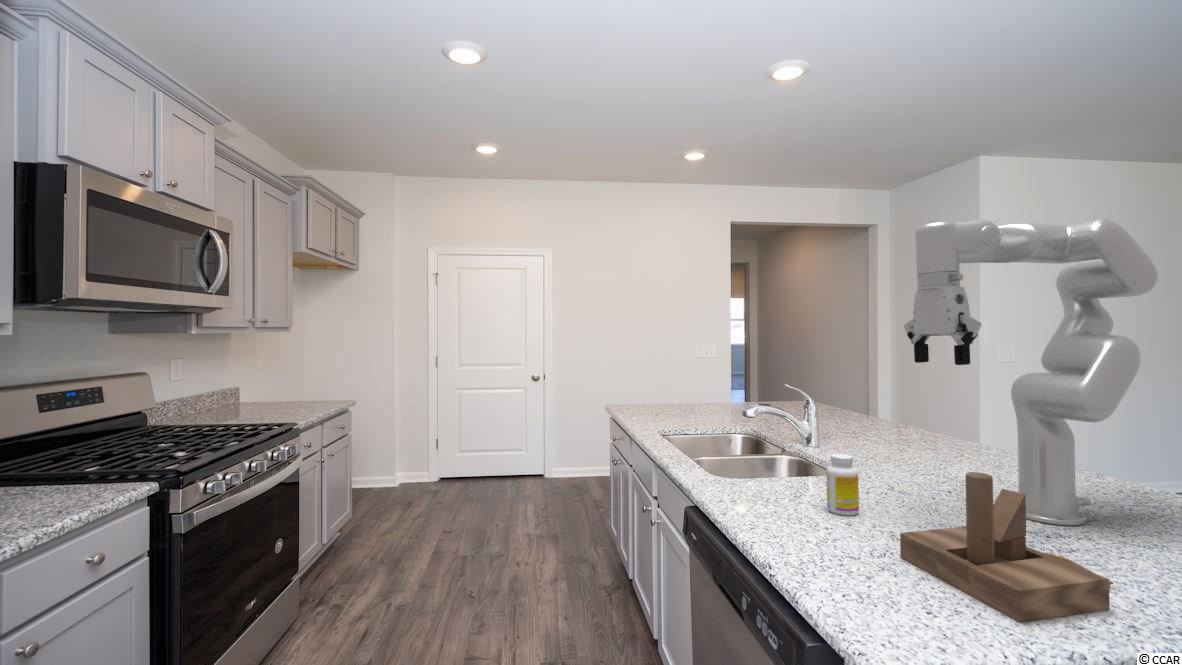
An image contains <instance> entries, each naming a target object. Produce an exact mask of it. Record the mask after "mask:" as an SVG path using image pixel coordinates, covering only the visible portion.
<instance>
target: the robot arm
mask: <svg viewBox="0 0 1182 665" xmlns="http://www.w3.org/2000/svg"><path fill="white" fill-rule="evenodd" d="M914 234H915V235H914V238H915V259H916V261H915V262H916V265H915V266H916V284H917V285H916V287H917V290H915V295H914V300H913V314H912V315H913V317H912V319H911V320H909V321H908V322H906V323H905V324H904V325H903V327H904V330H905V332H906V333H907V337H908V339H909V340H910V343H911V345H913V350H914V351H913V352H914V354H913V356H914V358H913V359H914V363H917V364H918V363H919V364H920V363H928V362H929V361H930V358H929V357H930V354H929V353H930V352H929V343H926V342H927V341H928V339H929V338H930V337H933V336H934V337H935V336H937V337H939V336H940V337H945V336H946V337H948V336H950V337H951V338H952V339H953V340H954V342H955V343H956V344H954V346H953V351H954V364H955V365H956V366H966V365H970V364H971V349H970V348H971V346H970V345H973V344H974V341H975V339H976V338H977V337H978V336H979V334H978V333H979V331H980V330H981V327H982V322H980V321H978V320H976V319H975V318H973V317H971V313H970V304H969V300H968V296H967V293H966V290H965V287H964V286H961V281H963V280H964V276H963V273H960V272H961V270H960V264H975V263H976V264H980V263H981V264H982V263H985V264H987V263H988V264H989V263H993V264H994V263H995V264H1005V263H1006V264H1007V263H1008V264H1009V263H1030V264H1031V263H1032V264H1052V265H1053V264H1054V265H1055V264H1056V265H1057V264H1068V263H1075V264H1070V265H1069V266H1066V267H1064V268H1062V270H1060V271H1059V273H1058V275H1057V277H1056V284H1055V285H1056V290H1057V291H1058V294H1059V295H1058V296H1059V297H1060V300H1061V303H1062V306H1063V317H1062V320H1061V322H1060V323H1059V325H1058V327H1057V329H1056V330H1055V332H1054V334H1053V335H1052V337H1051V338H1050V339H1049V341H1048V343H1047V345H1046V346H1045V348H1044V350H1043V351H1042V355H1041V358H1040V362H1041V365H1042V367H1043V369H1044V370H1046V372H1029V373H1026V374H1023V375H1020V376H1019V377H1017V378H1016V379H1015V380H1014V381H1013V383H1012V384H1011V385H1012V386H1011V387H1010V388H1011V389H1010V394H1011V401H1012V404H1013V408H1014V409H1013V410H1014V412H1015V417H1016V426H1017V428H1016V429H1017V464H1018V465H1017V466H1018V467H1017V468H1018V470H1017V472H1018V473H1017V474H1018V476H1017V477H1018V493H1022V494H1025V497H1026V520H1027V519H1028V520H1031V521H1035V522H1040V523H1045V524H1050V525H1051V524H1052V525H1058V526H1059V525H1060V526H1080V525H1084V524H1085V523H1087V517H1086V515H1085V514H1083V513H1082V512H1080V511H1079V509H1080V508H1081V507H1089V506H1091V505H1092V500H1091V499H1090V498H1089V497H1088V496H1083V497H1082V496H1081V497H1080V496H1079V497H1078V496H1076V495H1077V494H1076V492H1077V491H1076V489H1077V488H1076V442H1075V441H1076V440H1075V436H1074V433H1073V431H1072V429H1071V427H1070V425H1069V424H1068V423H1067V421H1066V420H1070V421H1075V422H1076V421H1077V422H1085V423H1100V422H1103V421H1105V420H1107V419H1109V418H1110V417H1111V416H1112V415H1113V414H1114V412H1115V411H1116V410H1117V408H1118V406H1119V405H1120V402H1121V401H1122V399H1123V398H1124V396H1125V395H1126V393H1127V391H1128V389H1129V388H1130V387H1131V384H1132V383H1133V381H1134V379H1135V377H1136V375H1137V374H1138V371H1139V369H1140V366H1141V365H1140V364H1141V352H1140V350H1139V347H1138V345H1137V344H1136V343H1135V342H1134V341H1133V340H1132V339H1130V338H1129V337H1126V336H1123V335H1119V334H1111V333H1112V331H1113V328H1114V321H1113V318H1112V317H1111V314H1110V313H1109V312H1108V311H1107V309H1106V308H1105V307H1104V305H1103V304H1102V303H1101V302H1100V300H1099V299H1107V298H1108V299H1110V298H1113V299H1114V298H1124V297H1125V298H1126V297H1127V298H1128V297H1136V296H1142V295H1145V294H1147V293H1149V292H1151V291H1152V290H1153V289H1154V288H1155V286H1156V284H1157V282H1158V270H1157V268H1156V265H1155V264H1154V262H1153V261H1152V259H1151V257H1149V255H1148V254H1147V253H1146V252H1145V251H1144V249H1143V248H1142V247H1141V246H1140V244H1138V242H1137V241H1136V240H1135V239H1134V237H1133V236H1132V235H1131V234H1130V233H1129V232H1128V231H1127V230H1126V229H1125V228H1123V227H1122V226H1121V225H1120V224H1119V223H1117V222H1115V221H1114V220H1111V219H1109V218H1097V219H1091V220H1086V221H1085V220H1084V221H1079V222H1075V223H1069V224H1048V223H1047V224H1045V223H1031V222H1019V223H1018V222H1017V223H1011V224H1006V225H999V226H998V225H997V224H996V223H994V222H992V221H990V220H985V219H975V220H969V221H968V220H967V221H963V222H952V221H937V222H930V223H929V222H928V223H925V224H923V225H919V226H918V227H917V228H916V230H915V233H914ZM1085 261H1086V262H1085ZM1078 262H1079V263H1078Z"/></svg>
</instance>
